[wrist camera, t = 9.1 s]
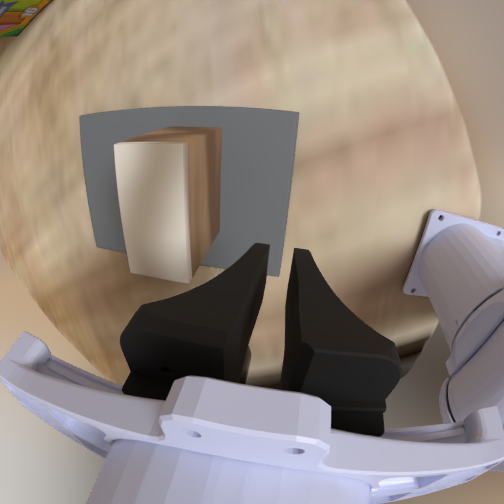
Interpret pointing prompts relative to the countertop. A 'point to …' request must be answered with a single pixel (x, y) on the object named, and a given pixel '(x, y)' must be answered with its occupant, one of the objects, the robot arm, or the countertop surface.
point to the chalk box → (18, 15)
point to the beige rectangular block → (169, 199)
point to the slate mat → (232, 173)
